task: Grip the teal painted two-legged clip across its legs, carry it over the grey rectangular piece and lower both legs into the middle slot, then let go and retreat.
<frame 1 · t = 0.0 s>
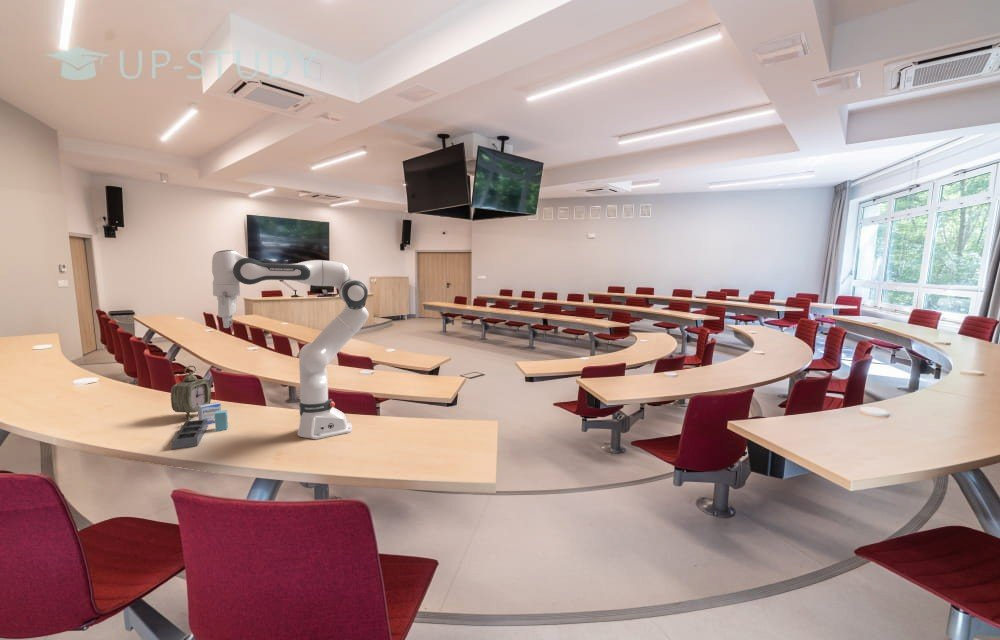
hand: (228, 326, 165), 48 cm above the table, fingers open, 8 cm apart
medicine box: (210, 423, 192), on the table
tabletop clock: (191, 417, 199), on the table
clip: (221, 429, 184), on the table
grey rectangular piece: (191, 437, 174), on the table
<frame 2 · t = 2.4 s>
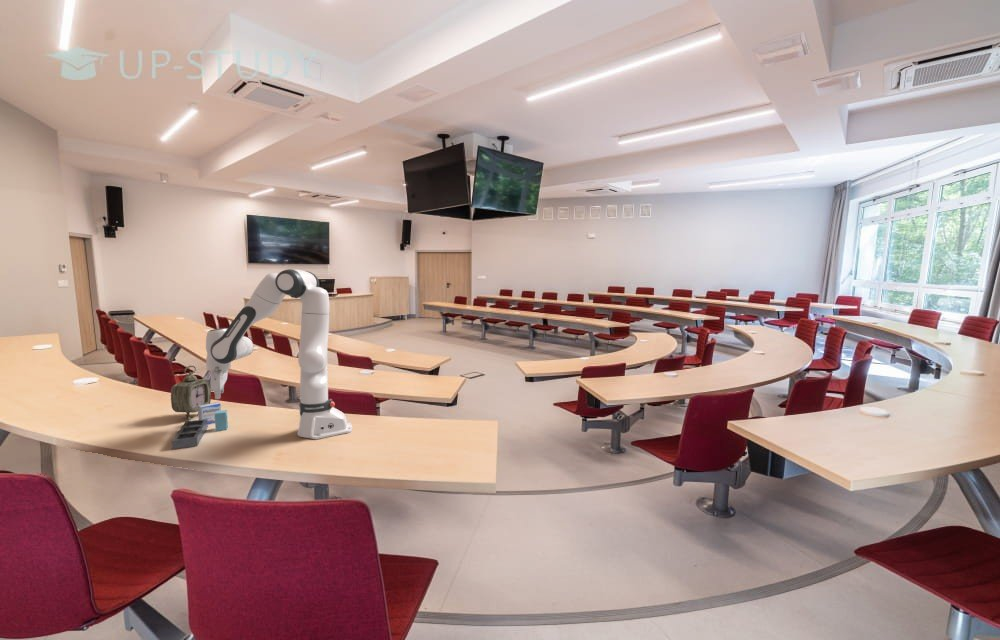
hand: (219, 395, 183), 15 cm above the table, fingers open, 8 cm apart
nothing on the table moved.
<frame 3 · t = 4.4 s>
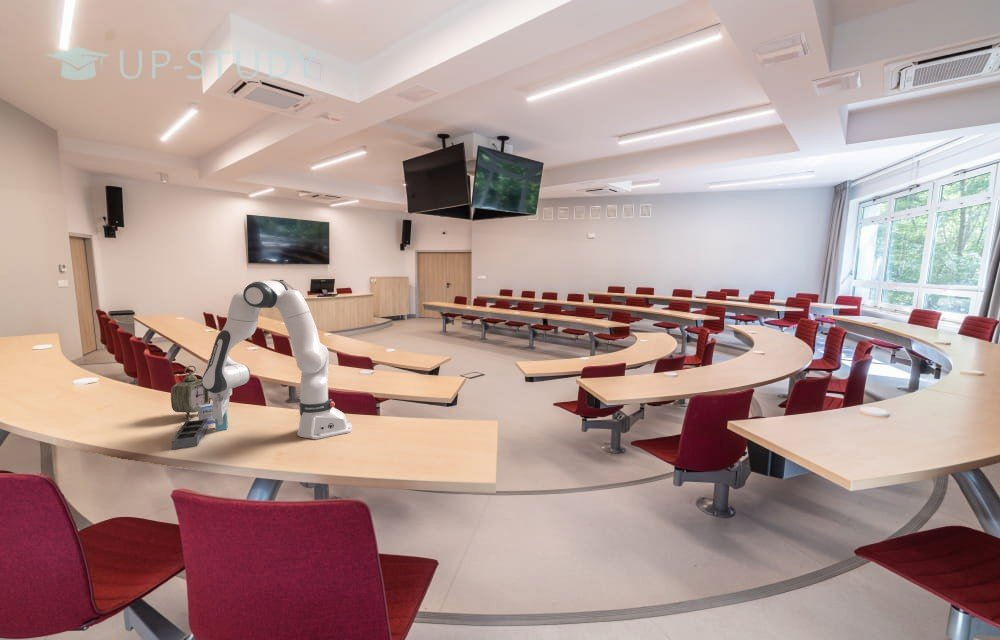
hand: (221, 422, 184), 3 cm above the table, fingers closed on clip, 4 cm apart
clip: (221, 429, 184), on the table, touching gripper
everything else where it was.
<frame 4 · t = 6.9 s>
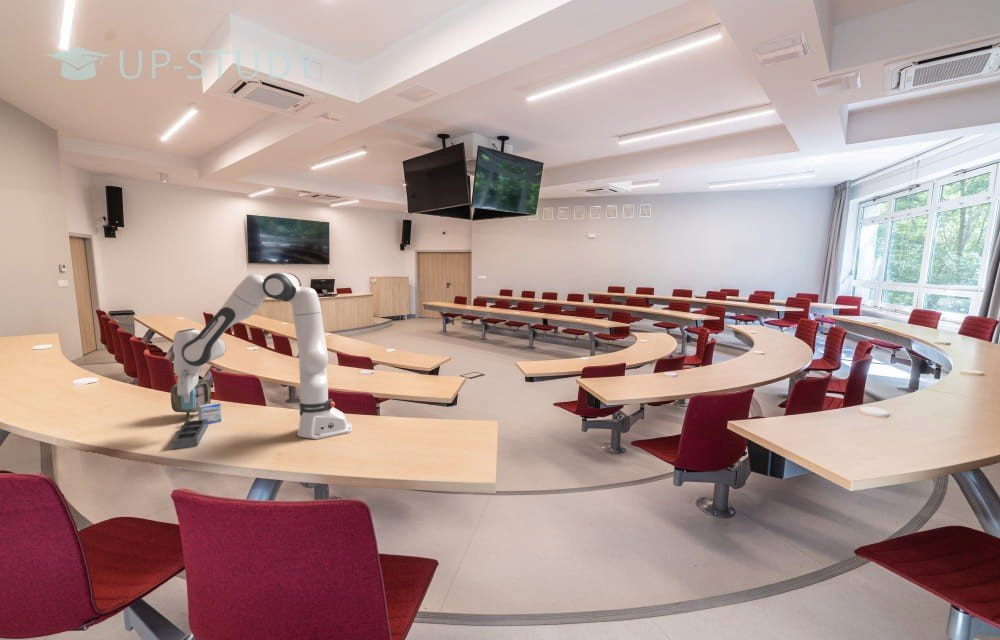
hand: (188, 400, 173), 16 cm above the table, fingers closed on clip, 4 cm apart
clip: (188, 407, 173), point 13 cm above the table, touching gripper
everything else where it was.
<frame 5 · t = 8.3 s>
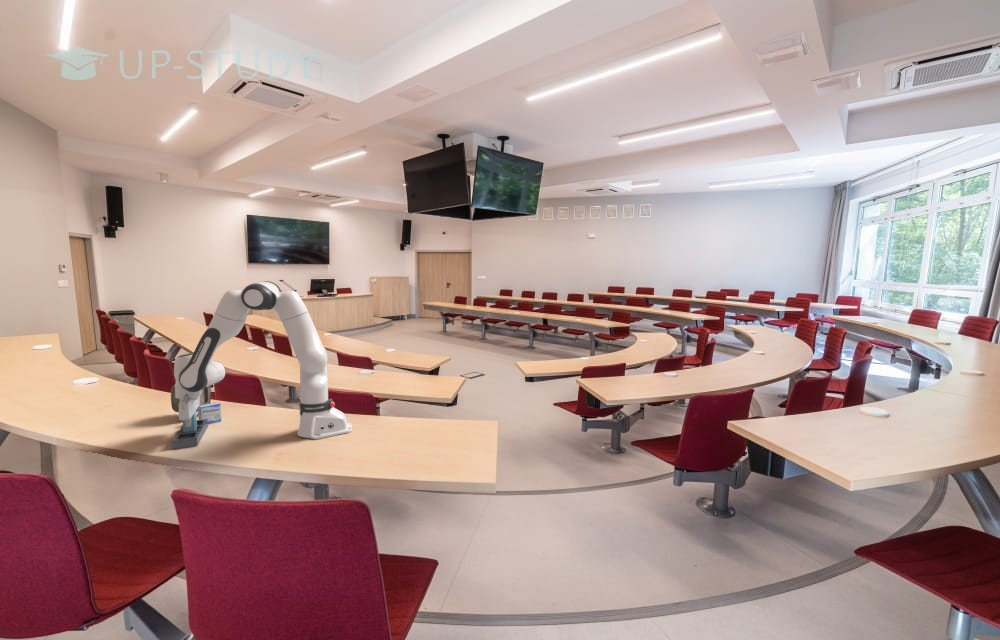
hand: (190, 424, 174), 6 cm above the table, fingers closed on clip, 4 cm apart
clip: (190, 431, 174), point 3 cm above the table, touching gripper
everything else where it was.
when the fingers open (5 cm above the table, at t = 9.2 s): clip drops 1 cm, resting in grey rectangular piece.
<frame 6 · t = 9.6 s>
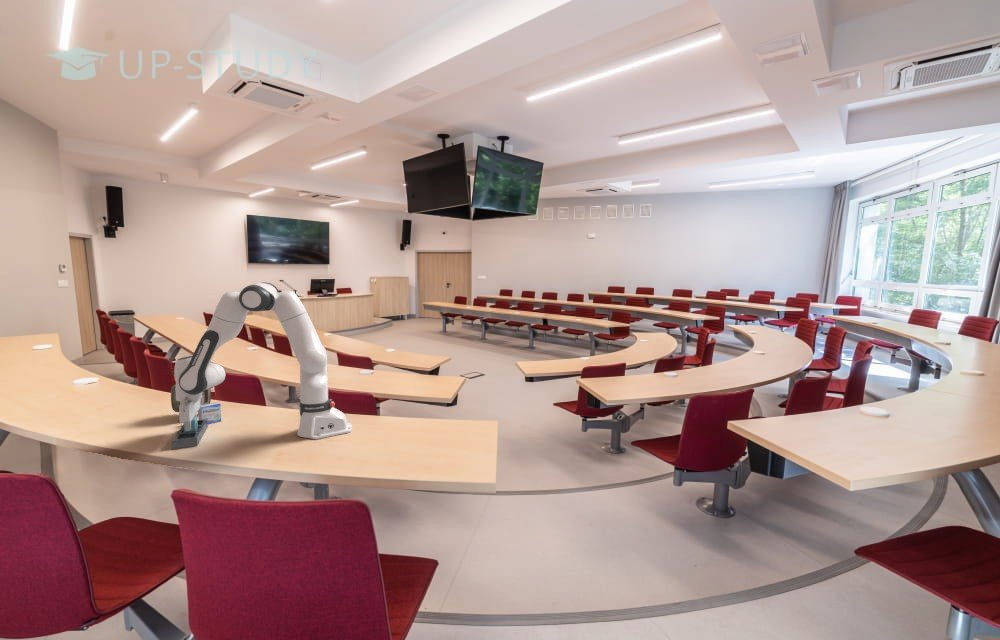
hand: (190, 426, 174), 5 cm above the table, fingers open, 8 cm apart
clip: (191, 437, 174), resting in grey rectangular piece
everything else where it was.
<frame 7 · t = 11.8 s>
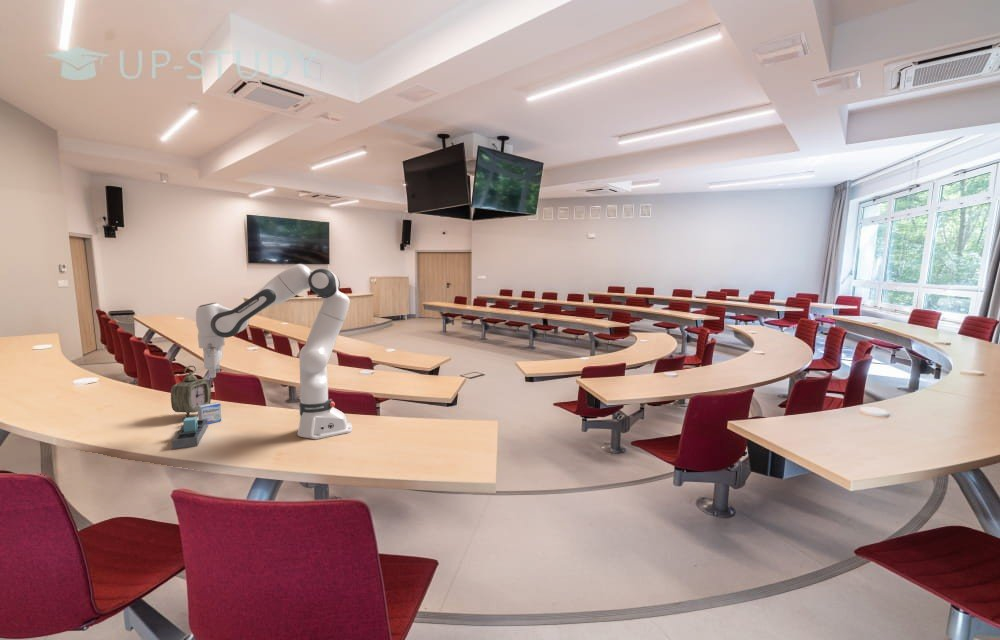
hand: (215, 375, 173), 27 cm above the table, fingers open, 8 cm apart
nothing on the table moved.
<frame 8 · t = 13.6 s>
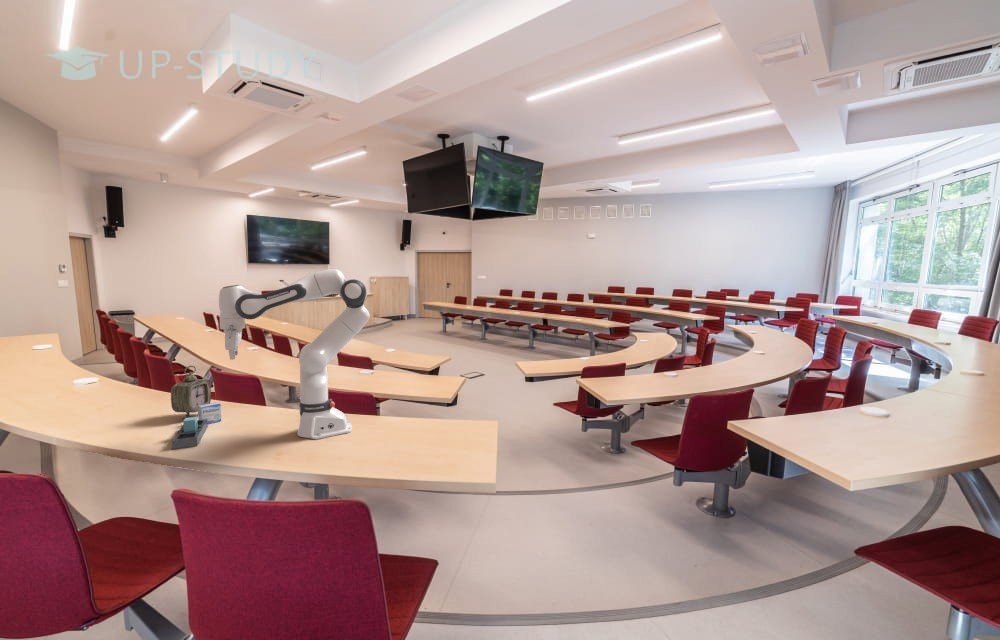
hand: (233, 357, 173), 34 cm above the table, fingers open, 8 cm apart
nothing on the table moved.
at the end: clip 0.1 cm from the grey rectangular piece (horizontally); clip resting in grey rectangular piece; clip tilted 0° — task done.
